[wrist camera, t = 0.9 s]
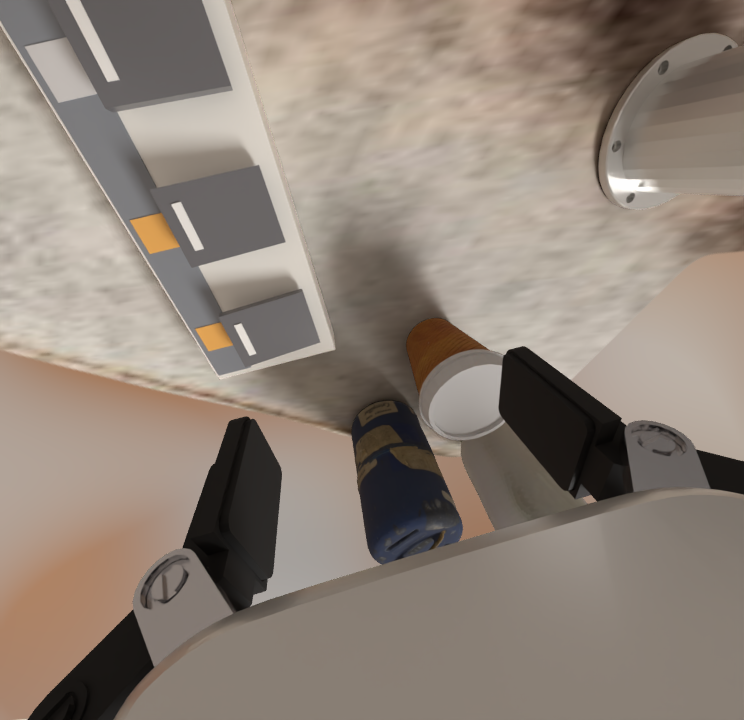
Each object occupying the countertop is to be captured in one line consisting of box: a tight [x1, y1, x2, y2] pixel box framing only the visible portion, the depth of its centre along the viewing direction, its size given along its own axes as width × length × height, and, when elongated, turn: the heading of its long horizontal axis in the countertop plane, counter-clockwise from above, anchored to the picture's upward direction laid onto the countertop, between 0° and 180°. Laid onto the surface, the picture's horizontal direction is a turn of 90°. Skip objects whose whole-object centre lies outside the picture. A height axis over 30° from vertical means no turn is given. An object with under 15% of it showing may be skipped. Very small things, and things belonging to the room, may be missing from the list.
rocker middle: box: [150, 165, 286, 268], centre depth 21 cm, size 7×5×1 cm
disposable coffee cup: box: [406, 318, 505, 440], centre depth 31 cm, size 10×10×12 cm
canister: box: [352, 401, 463, 564], centre depth 34 cm, size 10×10×18 cm
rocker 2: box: [218, 289, 320, 367], centre depth 26 cm, size 7×5×1 cm
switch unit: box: [0, 0, 336, 380], centre depth 23 cm, size 12×27×5 cm, turn 12°
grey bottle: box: [461, 422, 587, 531], centre depth 34 cm, size 10×10×28 cm
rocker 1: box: [47, 0, 233, 112], centre depth 16 cm, size 7×5×1 cm
